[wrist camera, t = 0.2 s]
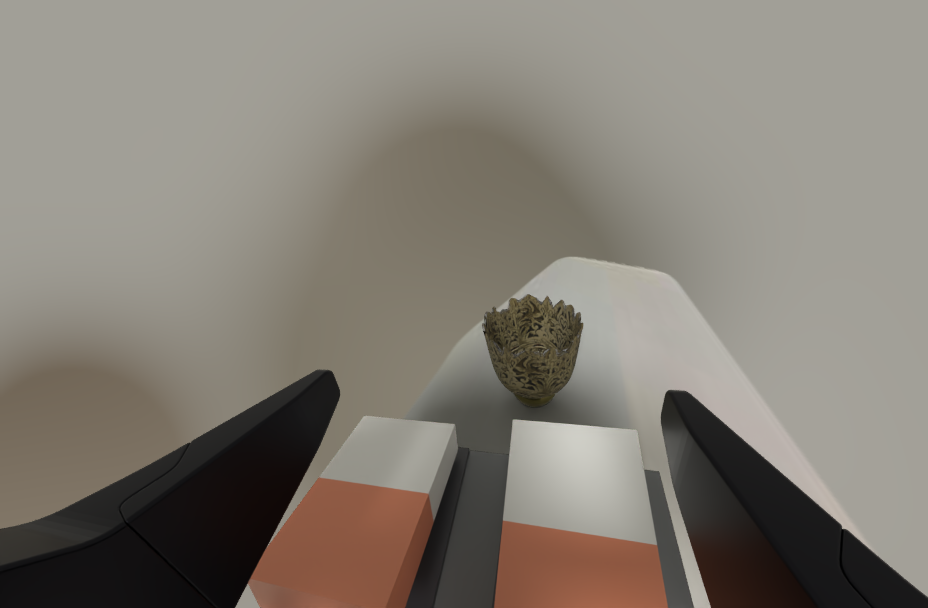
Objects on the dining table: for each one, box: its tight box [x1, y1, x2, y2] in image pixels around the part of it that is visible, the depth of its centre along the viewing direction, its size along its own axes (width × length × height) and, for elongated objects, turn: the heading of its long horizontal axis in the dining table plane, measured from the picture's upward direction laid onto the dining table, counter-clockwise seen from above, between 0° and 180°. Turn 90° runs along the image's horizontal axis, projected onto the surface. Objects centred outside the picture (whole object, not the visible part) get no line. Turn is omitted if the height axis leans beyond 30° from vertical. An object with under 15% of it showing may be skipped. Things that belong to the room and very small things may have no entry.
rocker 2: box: [494, 419, 668, 608], centre depth 13 cm, size 8×5×2 cm, turn 168°
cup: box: [482, 294, 583, 407], centre depth 29 cm, size 8×7×8 cm
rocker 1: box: [248, 416, 458, 608], centre depth 15 cm, size 8×5×2 cm, turn 167°
